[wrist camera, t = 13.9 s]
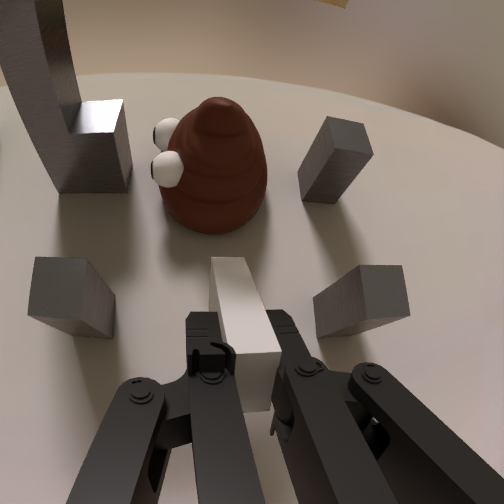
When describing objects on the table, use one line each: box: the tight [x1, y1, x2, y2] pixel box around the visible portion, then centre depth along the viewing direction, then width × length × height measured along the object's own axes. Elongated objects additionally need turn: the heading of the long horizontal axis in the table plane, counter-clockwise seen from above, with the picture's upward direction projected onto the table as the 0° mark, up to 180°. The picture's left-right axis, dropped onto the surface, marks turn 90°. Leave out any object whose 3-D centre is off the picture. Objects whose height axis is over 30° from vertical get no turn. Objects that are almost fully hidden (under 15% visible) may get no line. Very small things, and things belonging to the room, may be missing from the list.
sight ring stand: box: [0, 0, 348, 193], centre depth 16 cm, size 6×16×19 cm, turn 93°
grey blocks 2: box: [28, 257, 410, 339], centre depth 18 cm, size 3×20×7 cm, turn 93°
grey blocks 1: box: [69, 100, 374, 204], centre depth 22 cm, size 3×20×7 cm, turn 93°
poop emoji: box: [151, 97, 267, 234], centre depth 21 cm, size 10×8×9 cm
